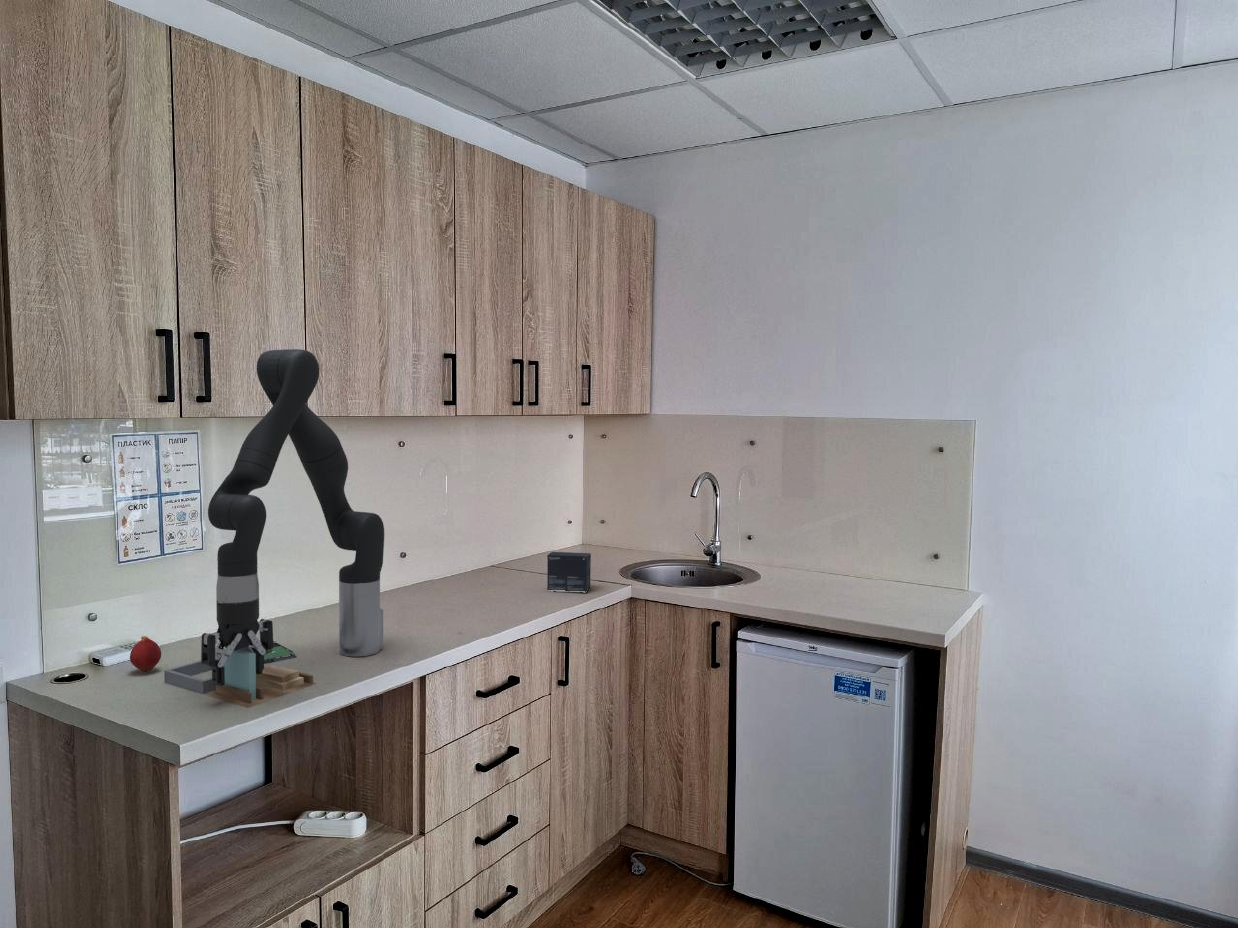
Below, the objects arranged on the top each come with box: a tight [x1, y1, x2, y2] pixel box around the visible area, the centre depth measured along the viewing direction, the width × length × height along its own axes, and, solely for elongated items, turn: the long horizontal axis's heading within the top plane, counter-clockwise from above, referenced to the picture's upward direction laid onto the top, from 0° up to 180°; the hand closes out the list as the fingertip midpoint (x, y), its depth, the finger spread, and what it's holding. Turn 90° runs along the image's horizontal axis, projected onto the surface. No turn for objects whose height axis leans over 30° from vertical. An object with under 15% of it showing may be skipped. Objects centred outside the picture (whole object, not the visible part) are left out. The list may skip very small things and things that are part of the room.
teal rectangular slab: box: [223, 647, 256, 700], centre depth 160 cm, size 1×8×9 cm, turn 61°
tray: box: [163, 659, 216, 695], centre depth 170 cm, size 12×13×4 cm
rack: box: [204, 665, 317, 709], centre depth 165 cm, size 16×13×3 cm
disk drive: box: [239, 640, 297, 665], centre depth 187 cm, size 10×3×15 cm
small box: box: [546, 551, 592, 592], centre depth 263 cm, size 13×7×12 cm, turn 81°
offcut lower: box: [256, 677, 304, 691], centre depth 168 cm, size 5×9×1 cm, turn 61°
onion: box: [129, 635, 162, 673], centre depth 177 cm, size 6×6×8 cm
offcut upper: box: [256, 665, 300, 683], centre depth 168 cm, size 4×8×1 cm, turn 67°
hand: (238, 679), depth 160 cm, fingers open, 8 cm apart
